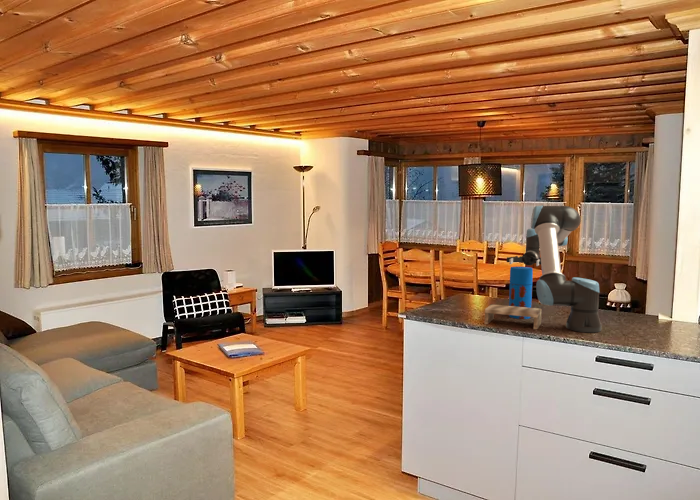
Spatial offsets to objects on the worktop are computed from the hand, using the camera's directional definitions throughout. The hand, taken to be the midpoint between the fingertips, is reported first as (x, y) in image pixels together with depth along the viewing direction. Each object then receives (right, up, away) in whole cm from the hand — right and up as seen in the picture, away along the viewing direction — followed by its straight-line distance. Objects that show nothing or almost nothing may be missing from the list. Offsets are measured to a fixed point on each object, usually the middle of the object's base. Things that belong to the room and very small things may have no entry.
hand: (523, 262), depth 289 cm
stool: (-12, -29, -23) cm, 39 cm away
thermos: (-5, -27, -8) cm, 29 cm away
